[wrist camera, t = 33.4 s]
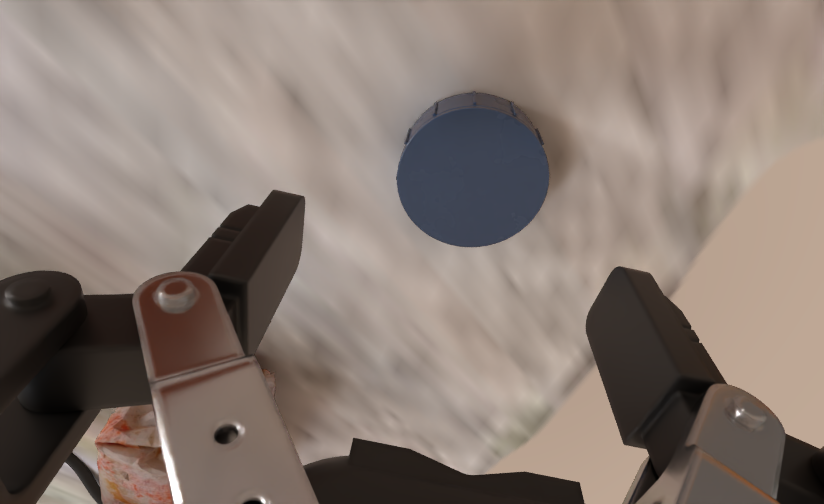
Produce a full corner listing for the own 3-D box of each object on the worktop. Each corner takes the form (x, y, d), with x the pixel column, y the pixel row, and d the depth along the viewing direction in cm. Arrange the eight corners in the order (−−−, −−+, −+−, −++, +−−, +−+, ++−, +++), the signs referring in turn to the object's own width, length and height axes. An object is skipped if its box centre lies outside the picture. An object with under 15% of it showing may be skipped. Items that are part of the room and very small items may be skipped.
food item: (165, 312, 27) (32, 473, 18) (297, 352, 27) (225, 523, 19) (161, 439, 34) (66, 593, 26) (265, 468, 35) (204, 626, 27)
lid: (421, 75, 18) (416, 89, 16) (564, 114, 18) (575, 132, 16) (390, 204, 21) (383, 228, 19) (512, 235, 21) (516, 261, 20)
